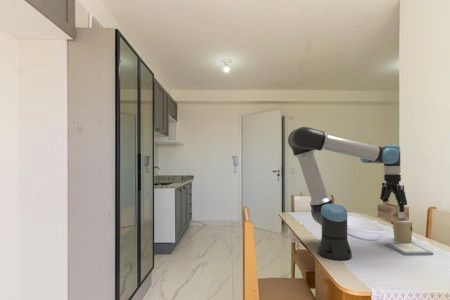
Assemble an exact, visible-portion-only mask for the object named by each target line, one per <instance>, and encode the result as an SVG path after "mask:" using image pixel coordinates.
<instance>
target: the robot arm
mask: <svg viewBox="0 0 450 300" xmlns="http://www.w3.org/2000/svg"><path fill="white" fill-rule="evenodd" d="M287 144H288V145H289V148H290V149H291V151H292V153H293V156H294V157H296V158H297V160H298V163H299V166H300V169H301V172H302V175H303V179H304V181H305V185H306V187H307V190H308V194H309V196H310V197H309V198H310V199H311V200H310V202H309V205H310V208H311V209H310V213H311V216H312V219H314V221H315V223H317V224H319V225H320V226H321V237H320V240H319V244H318V247H317V254H319V256H321V257H322V258H325V259H329V260H335V261H347V260H348V261H349V260H350V259H352V257H353V255H352V249H351V246H350V244H349V241H348V240H349V239H348V216H349V215H348V211H347V208H346V207H345V206H342V205H341V204H337V203H334V202H333V199H332V197H331V196H328V193H327V190H326V187H325V184H324V180H323V179H322V175H321V172H320V168H319V166H318V163H317V160H316V157H315V151H323V150H324V151H330V152H332V153H333V152H334V153H337V154H342V155H345V156H349V157H354V158H359V159H360V162H362V163H363V164H383V173H384V174H383V181H385V182H381V190H380V191H381V192H380V199H379V200H381V201H382V202H383V203H382V204H390V201H389V199H390V197H391V194H392V193H393V195H394V197H395V200H396V203H397V204H398V205H397V218H404V213H403V212H404V206H407V205H408V200H407V197H406V192H405V185H404V184H402V185H401V184H400V182H401V181H402V175H401V170H402V169H401V148H400V145H398V144H385V145H383V146H379V145H378V146H377V145H374V144H370V143H367V142H362V141H356V140H353V139H348V138H344V137H339V136H336V135H330V134H328V133H327V132H326V131H323V130H319V129H315V128H312V127H309V126H302V127H299V128H295V129H294V130H292V131H291V132H290V133H289V134H288V138H287Z"/></svg>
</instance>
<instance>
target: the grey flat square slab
mask: <svg viewBox="0 0 450 300" xmlns="http://www.w3.org/2000/svg"><path fill="white" fill-rule="evenodd" d="M385 244H386V246H387V248H388V247H389V249H390V248H391V249H392V250H393V251H396V252H398V253H399V254H401V255H402V256H434V252H433V251H431V250H428V249H426V248H424V247H422V246H419V245H418V244H416V243H413V242H411V243H398V242H393V243H390V242H387V243H385Z"/></svg>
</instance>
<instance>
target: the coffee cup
mask: <svg viewBox="0 0 450 300" xmlns="http://www.w3.org/2000/svg"><path fill="white" fill-rule="evenodd" d="M413 223H414V222H413V220H411V219H409V221H392V227H393V229H392V230H393V236H394V237H393V238H394V242H395V243H412V239H413V238H412V237H413V235H412V234H413Z"/></svg>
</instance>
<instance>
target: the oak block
mask: <svg viewBox="0 0 450 300" xmlns="http://www.w3.org/2000/svg"><path fill="white" fill-rule="evenodd" d="M397 205H398V203H396V202H395V203H389V204H383V203H377V217H378V218H381V219H383V220H386V221H389V222H393V221H409V220H410V207H409V206H407V205H404V212H403V213H404V218H397Z"/></svg>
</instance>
